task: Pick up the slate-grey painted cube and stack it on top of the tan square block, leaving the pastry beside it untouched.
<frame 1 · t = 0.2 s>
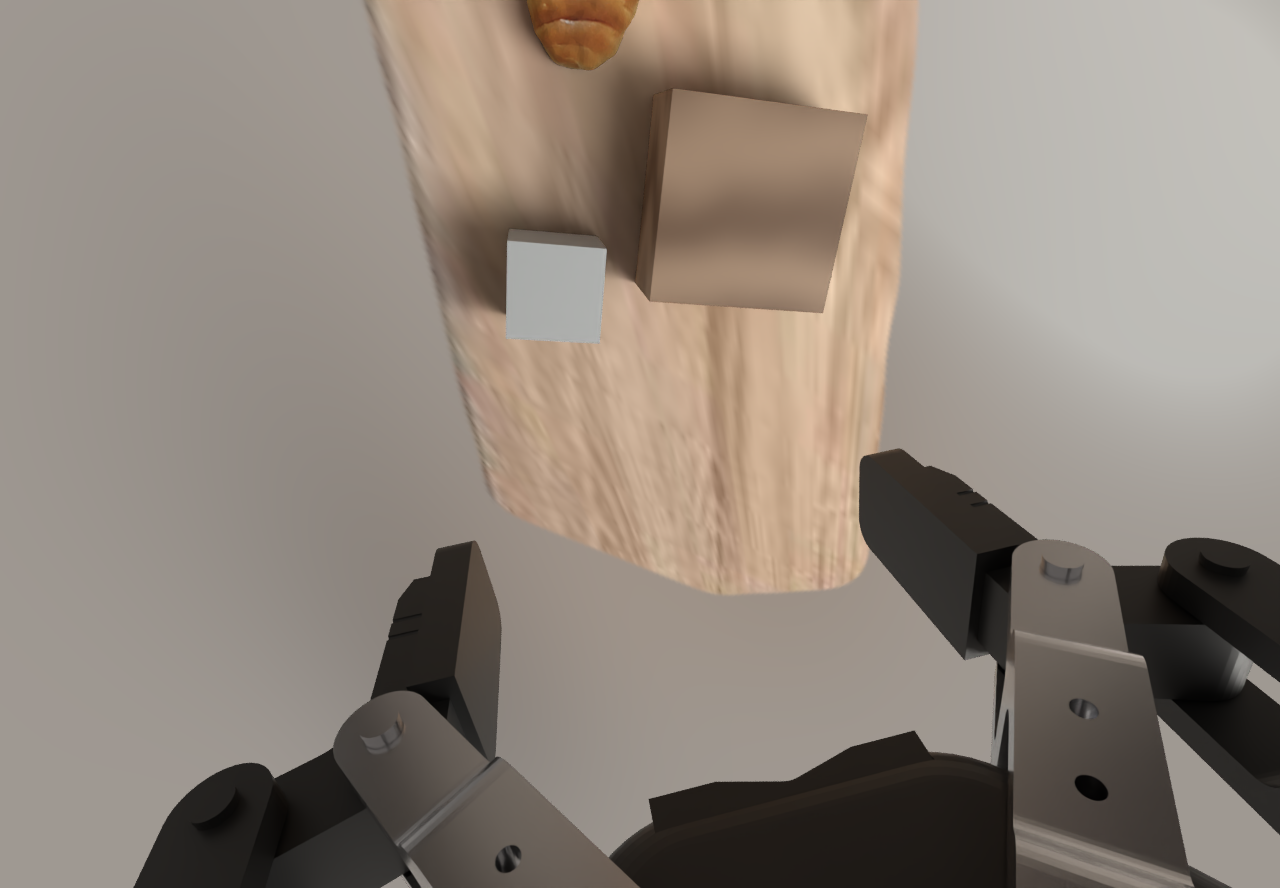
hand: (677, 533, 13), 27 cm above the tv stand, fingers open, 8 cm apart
grey cube: (551, 276, 37), on the tv stand
tan square block: (727, 202, 37), on the tv stand
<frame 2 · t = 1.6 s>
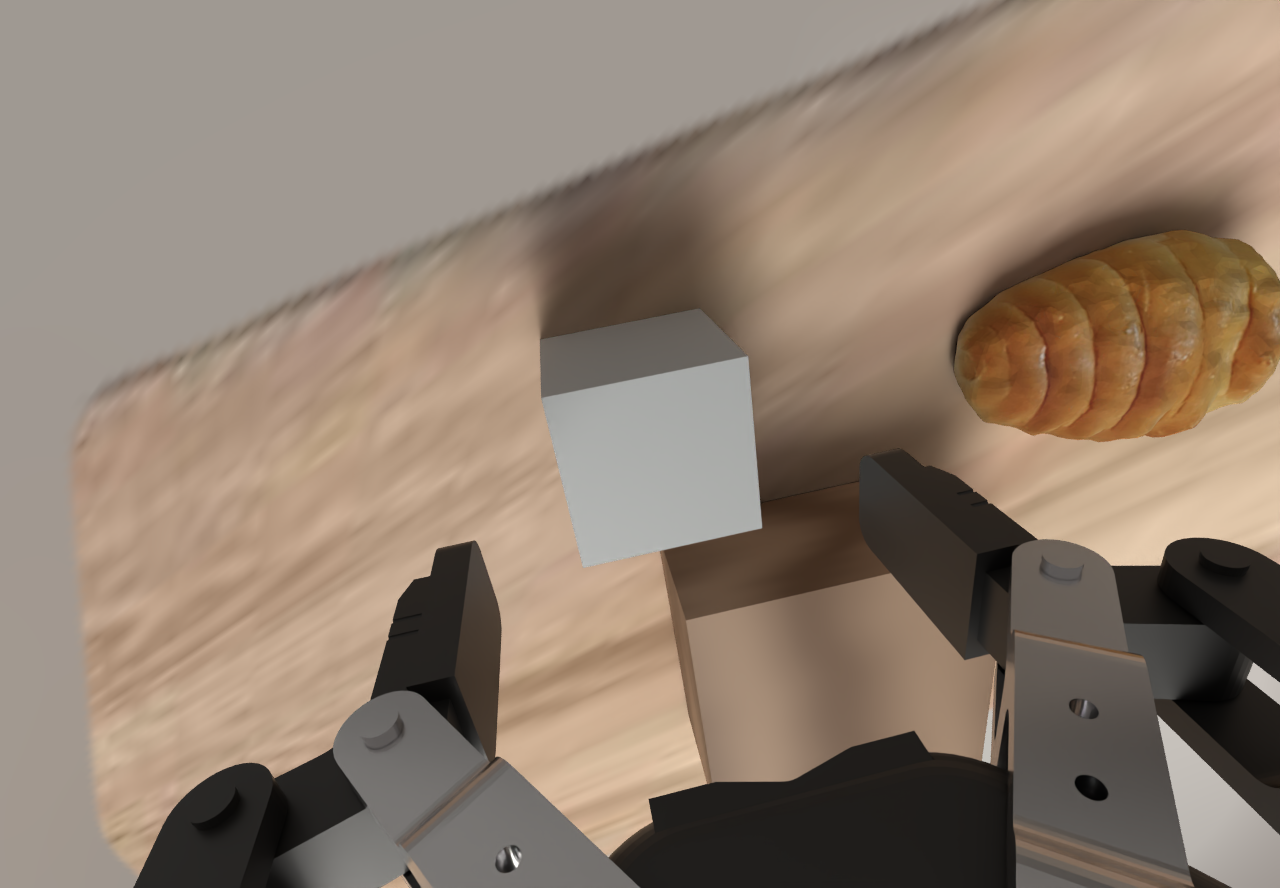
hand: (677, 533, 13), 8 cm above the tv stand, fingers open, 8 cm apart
grey cube: (633, 397, 20), on the tv stand
tan square block: (795, 601, 25), on the tv stand
pastry: (1079, 337, 22), on the tv stand
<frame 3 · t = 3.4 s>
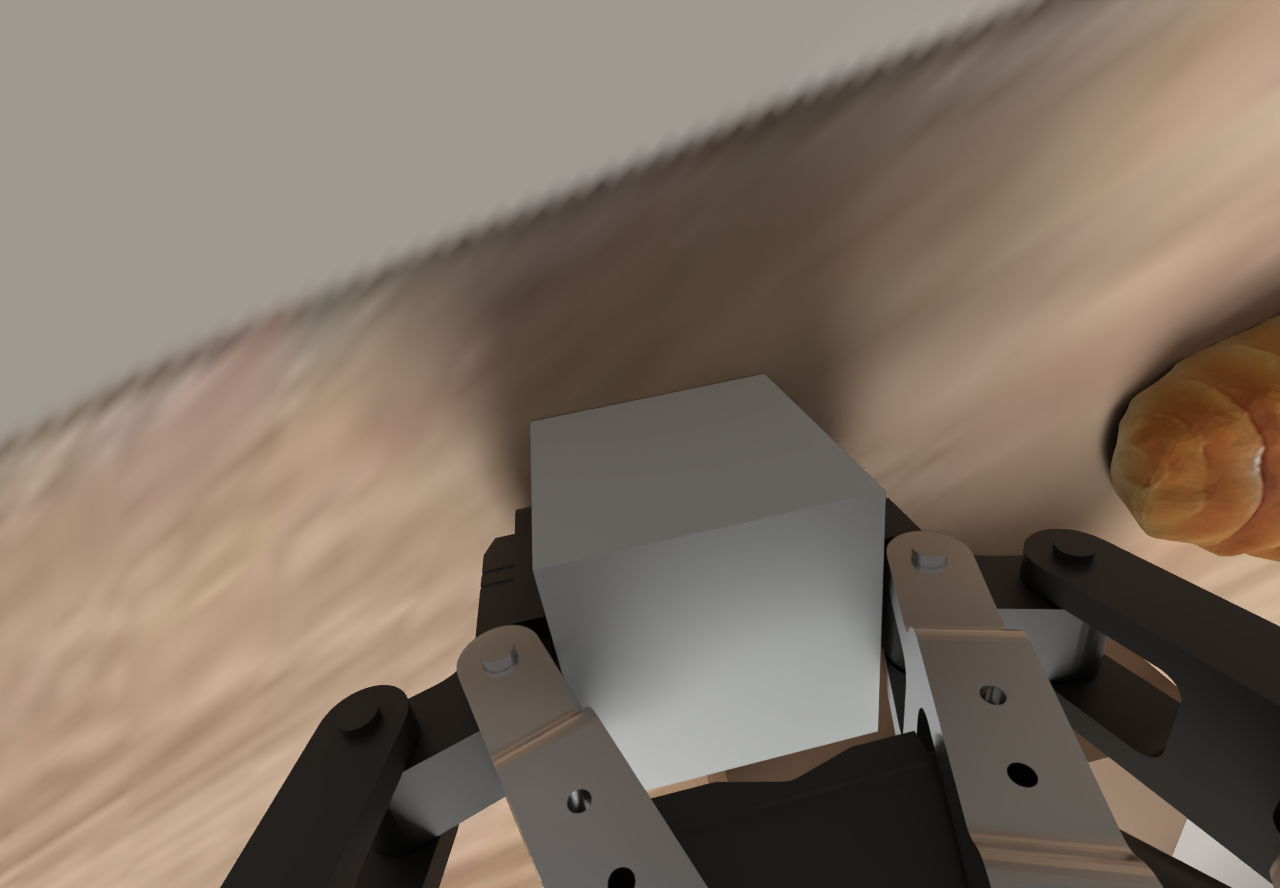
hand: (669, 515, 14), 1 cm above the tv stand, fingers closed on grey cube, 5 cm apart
grey cube: (664, 498, 14), on the tv stand, touching gripper
tan square block: (867, 740, 19), on the tv stand
pastry: (1265, 413, 17), on the tv stand
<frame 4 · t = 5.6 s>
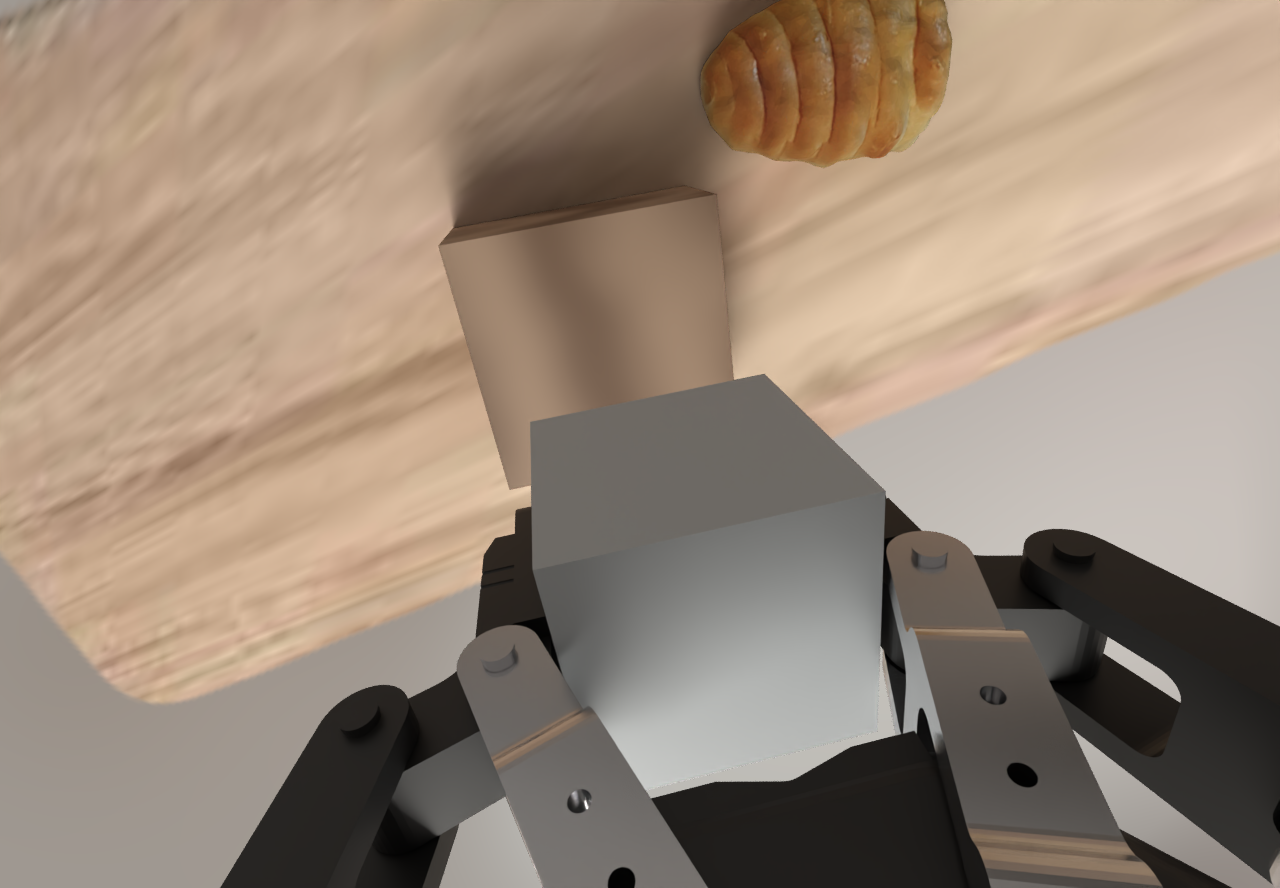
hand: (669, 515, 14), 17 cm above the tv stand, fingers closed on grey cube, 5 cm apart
grey cube: (664, 498, 14), point 16 cm above the tv stand, touching gripper
tan square block: (592, 320, 29), on the tv stand
pastry: (818, 83, 27), on the tv stand
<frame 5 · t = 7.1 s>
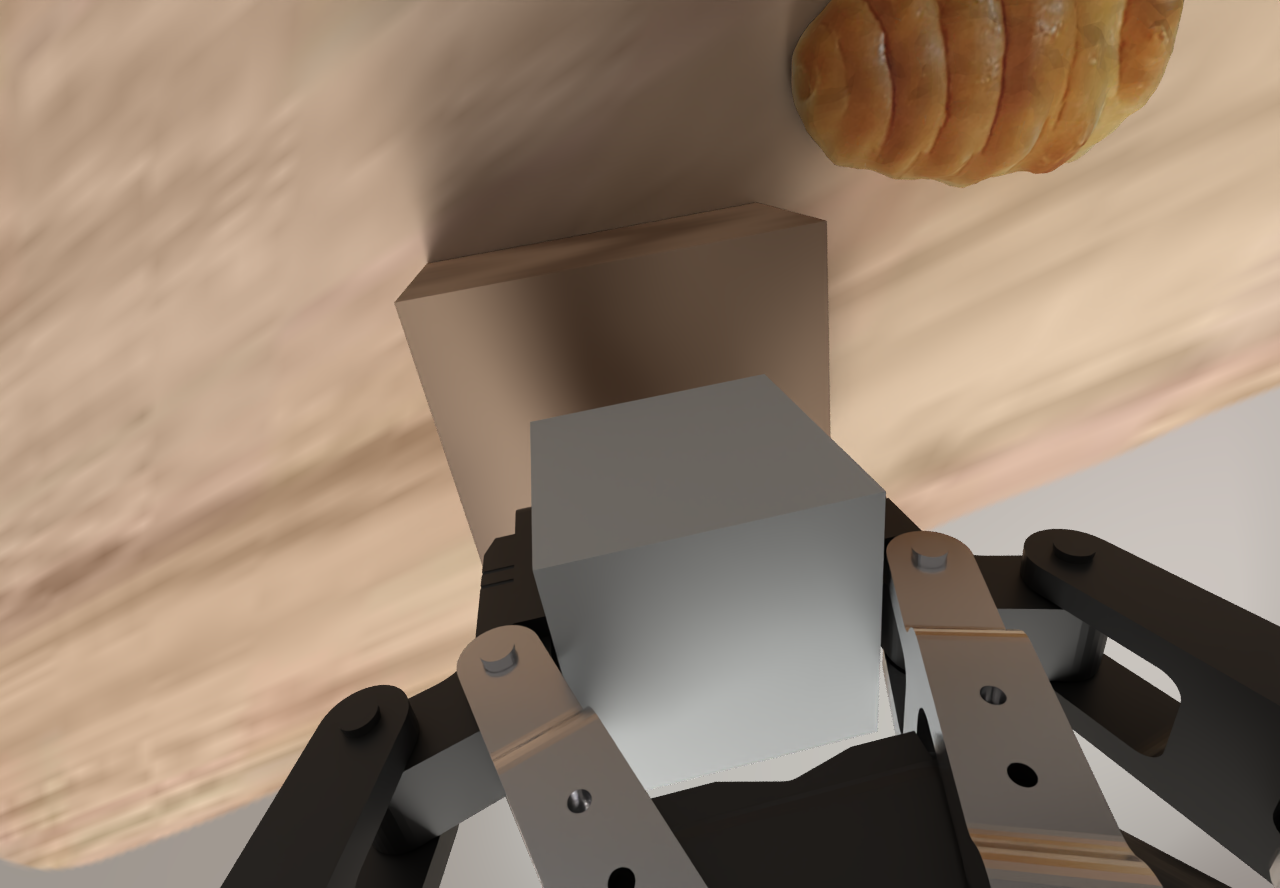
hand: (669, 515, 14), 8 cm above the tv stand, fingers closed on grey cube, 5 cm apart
grey cube: (664, 498, 14), point 8 cm above the tv stand, touching gripper
tan square block: (622, 387, 21), on the tv stand
pastry: (952, 68, 19), on the tv stand
when the fingers open (7 cm above the tv stand, at t = 8.3 s): grey cube stays where it is, resting on tan square block.
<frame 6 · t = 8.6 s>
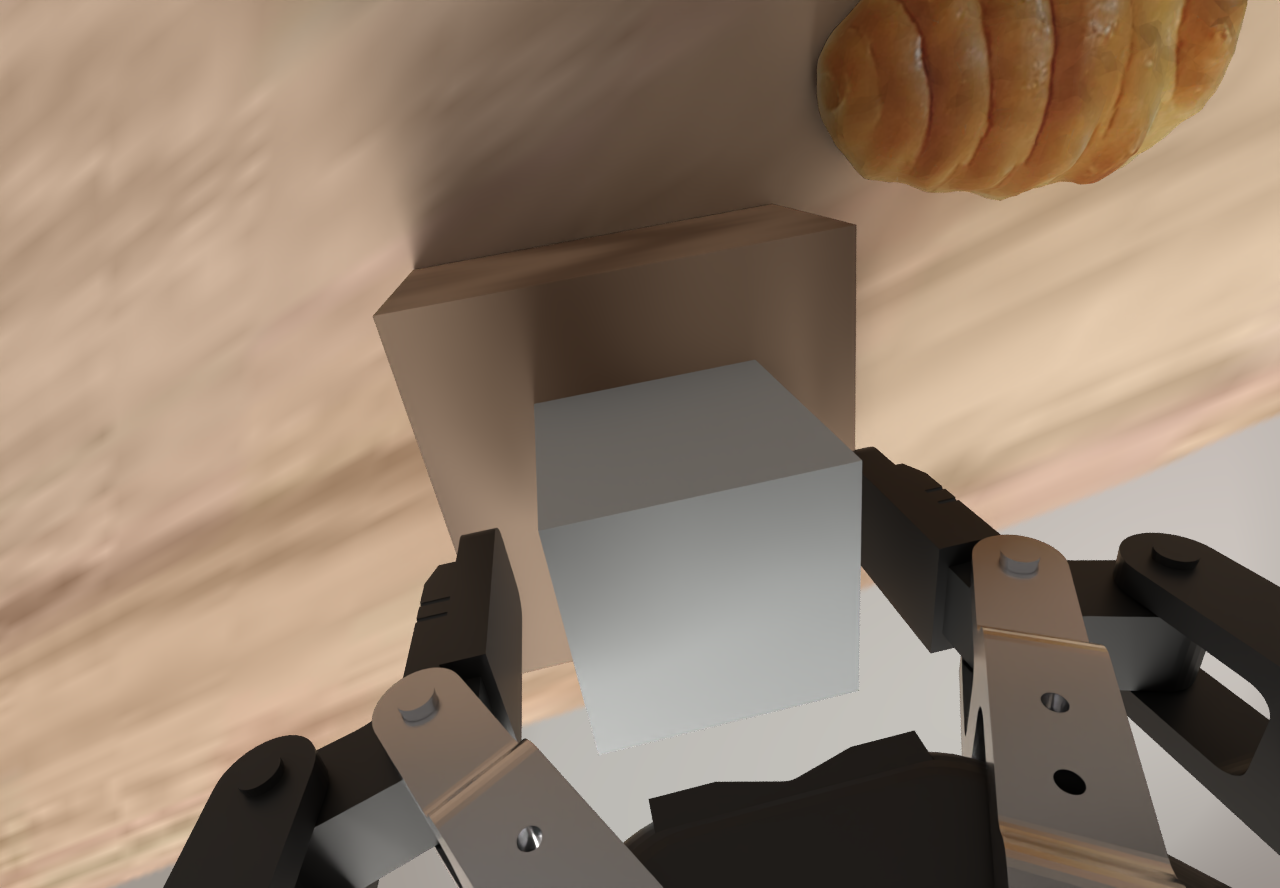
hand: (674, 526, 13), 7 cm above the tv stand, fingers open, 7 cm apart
grey cube: (661, 478, 15), point 5 cm above the tv stand, touching tan square block
tan square block: (626, 402, 19), on the tv stand
pastry: (987, 72, 17), on the tv stand
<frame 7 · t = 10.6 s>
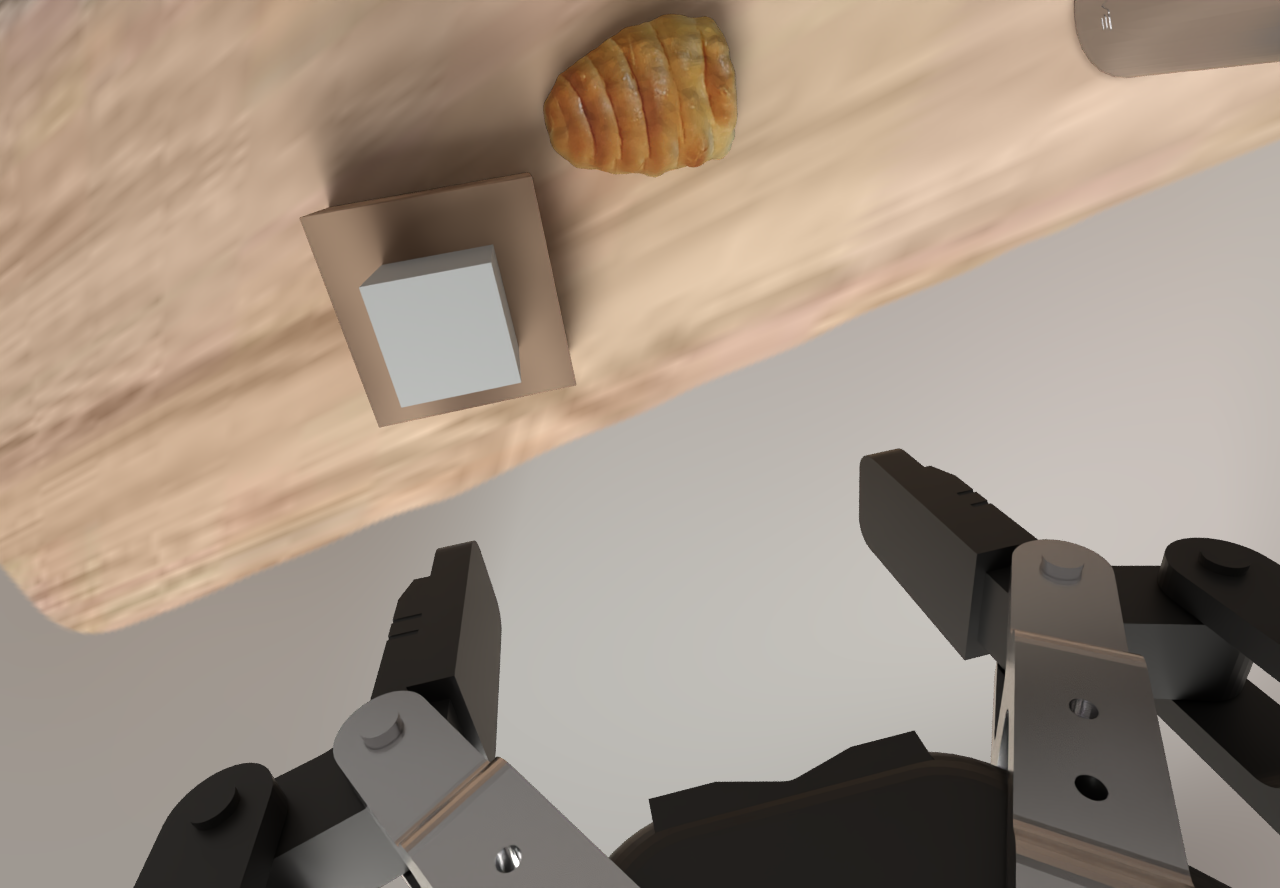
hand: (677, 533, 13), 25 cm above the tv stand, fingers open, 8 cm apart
grey cube: (453, 308, 29), point 5 cm above the tv stand, touching tan square block
tan square block: (458, 287, 34), on the tv stand
pastry: (647, 108, 32), on the tv stand
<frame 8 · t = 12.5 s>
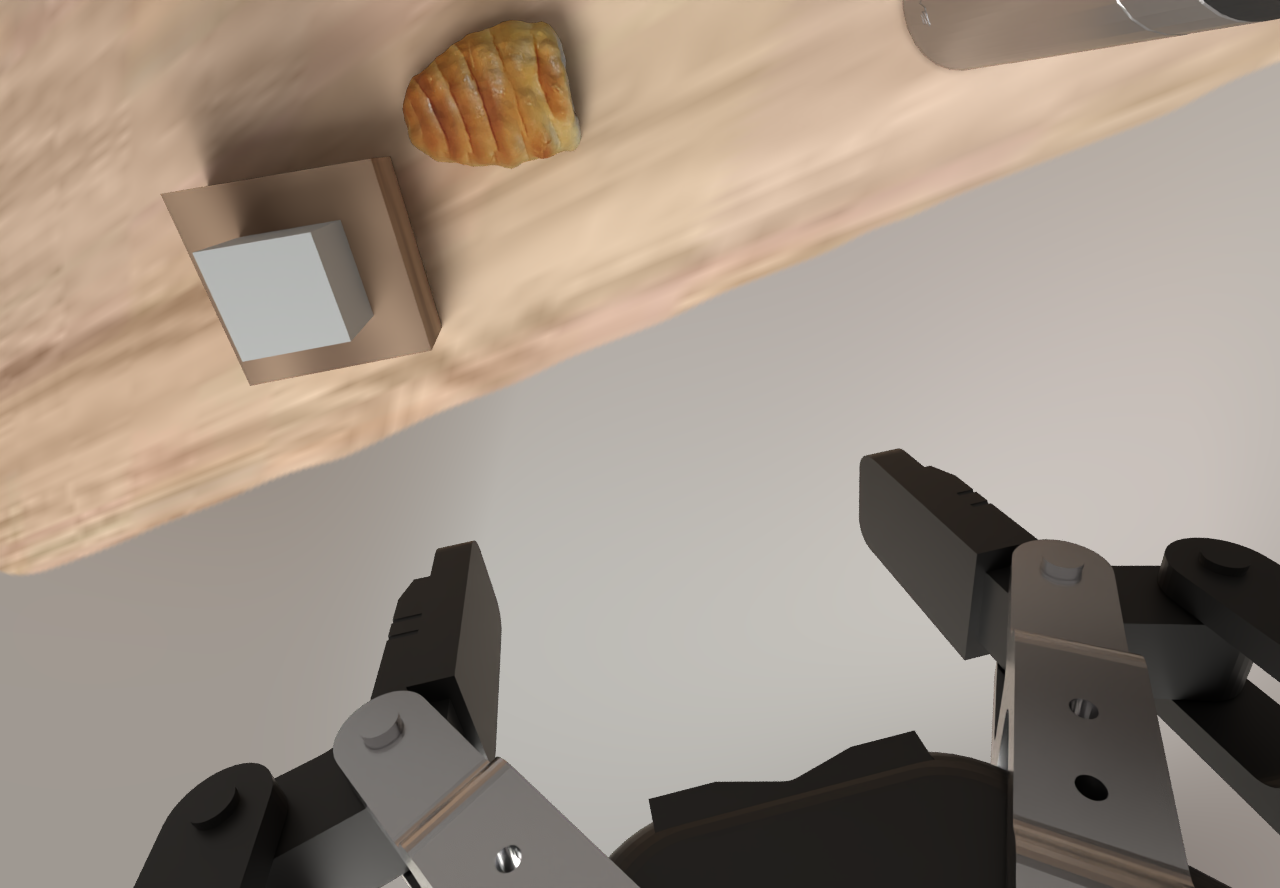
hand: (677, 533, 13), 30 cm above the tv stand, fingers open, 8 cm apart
grey cube: (309, 277, 33), point 5 cm above the tv stand, touching tan square block
tan square block: (333, 262, 37), on the tv stand
pastry: (504, 106, 36), on the tv stand
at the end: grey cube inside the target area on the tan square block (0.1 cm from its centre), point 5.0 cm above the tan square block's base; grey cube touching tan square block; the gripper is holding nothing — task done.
